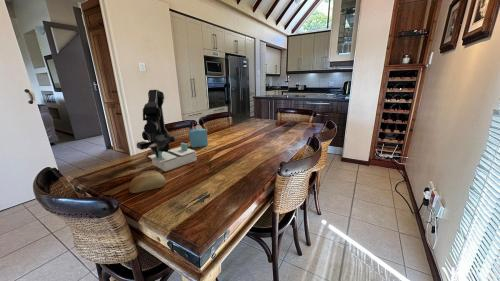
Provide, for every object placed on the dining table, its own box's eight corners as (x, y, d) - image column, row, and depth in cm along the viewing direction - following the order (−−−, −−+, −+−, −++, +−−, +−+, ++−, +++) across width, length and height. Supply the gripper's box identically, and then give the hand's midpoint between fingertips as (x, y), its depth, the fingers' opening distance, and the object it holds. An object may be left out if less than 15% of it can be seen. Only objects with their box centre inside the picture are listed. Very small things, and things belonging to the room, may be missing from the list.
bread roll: (129, 189, 94) (125, 173, 91) (164, 180, 101) (161, 165, 99) (130, 199, 86) (127, 181, 84) (168, 188, 94) (166, 172, 91)
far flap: (168, 151, 126) (167, 144, 125) (182, 147, 133) (181, 140, 132) (181, 156, 117) (180, 148, 116) (195, 151, 124) (194, 144, 123)
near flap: (148, 156, 117) (146, 149, 116) (164, 152, 124) (163, 145, 123) (160, 163, 108) (159, 154, 107) (177, 157, 115) (176, 150, 114)
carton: (152, 164, 120) (151, 156, 119) (183, 154, 135) (182, 147, 133) (165, 171, 111) (164, 162, 109) (196, 160, 125) (196, 152, 124)
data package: (207, 144, 156) (205, 128, 153) (207, 145, 152) (206, 129, 149) (190, 145, 153) (188, 130, 149) (191, 147, 149) (189, 131, 145)
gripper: (143, 135, 98) (148, 165, 103) (178, 128, 112) (181, 155, 116) (133, 132, 105) (139, 160, 110) (168, 125, 119) (171, 151, 123)
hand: (158, 156), depth 115 cm, fingers closed on near flap
